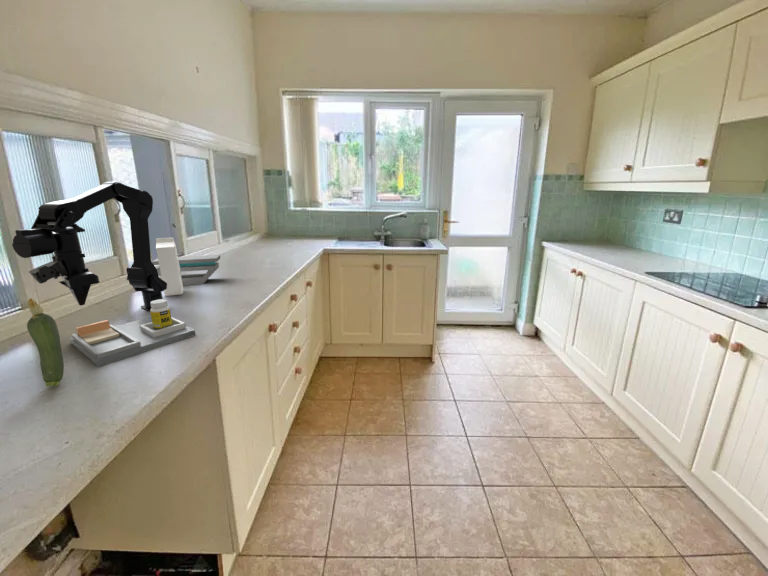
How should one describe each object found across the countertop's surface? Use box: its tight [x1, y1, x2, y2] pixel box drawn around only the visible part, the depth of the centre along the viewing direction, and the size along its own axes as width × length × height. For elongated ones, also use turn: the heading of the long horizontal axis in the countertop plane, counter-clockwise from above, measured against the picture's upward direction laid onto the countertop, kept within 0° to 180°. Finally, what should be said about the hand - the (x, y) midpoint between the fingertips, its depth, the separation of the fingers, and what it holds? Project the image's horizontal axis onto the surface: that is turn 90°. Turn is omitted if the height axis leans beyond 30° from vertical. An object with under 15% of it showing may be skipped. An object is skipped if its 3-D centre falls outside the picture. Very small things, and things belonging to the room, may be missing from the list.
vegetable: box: [26, 298, 65, 388], centre depth 75 cm, size 4×4×20 cm
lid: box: [75, 319, 120, 345], centre depth 98 cm, size 8×7×3 cm
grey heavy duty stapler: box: [151, 254, 221, 286], centre depth 157 cm, size 25×8×11 cm, turn 103°
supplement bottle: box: [149, 298, 173, 331], centre depth 103 cm, size 5×5×8 cm
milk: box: [155, 236, 184, 297], centre depth 140 cm, size 6×6×22 cm
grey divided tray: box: [69, 316, 196, 367], centre depth 100 cm, size 22×23×3 cm
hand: (81, 305), depth 102 cm, fingers closed
